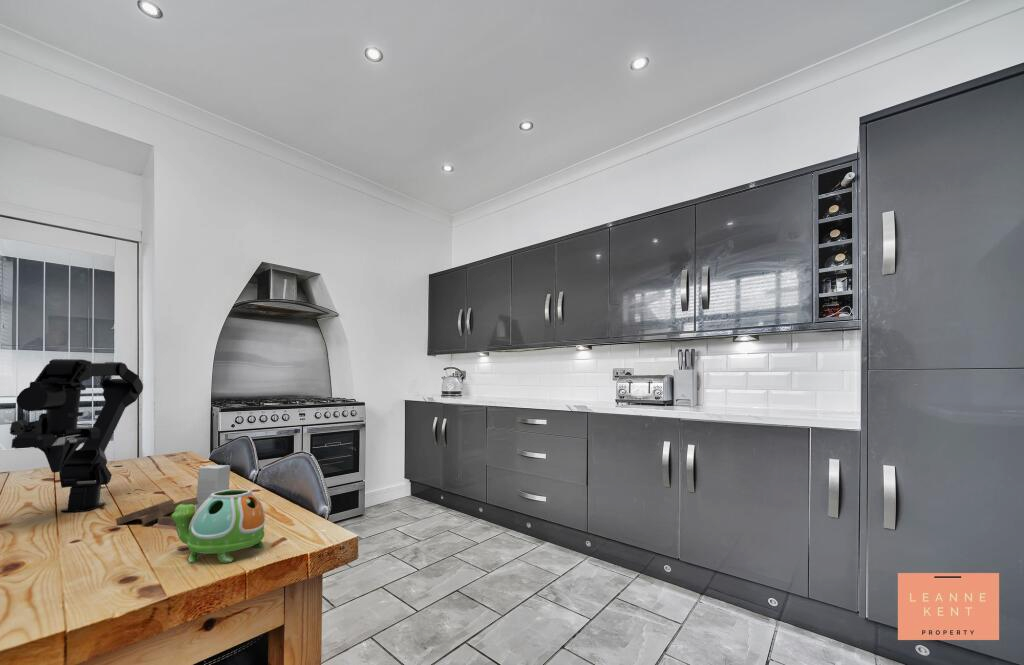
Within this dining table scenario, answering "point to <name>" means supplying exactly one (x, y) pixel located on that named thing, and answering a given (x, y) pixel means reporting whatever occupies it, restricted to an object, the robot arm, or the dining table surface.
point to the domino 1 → (144, 512)
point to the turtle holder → (221, 524)
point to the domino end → (164, 526)
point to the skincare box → (211, 481)
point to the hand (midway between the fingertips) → (55, 472)
